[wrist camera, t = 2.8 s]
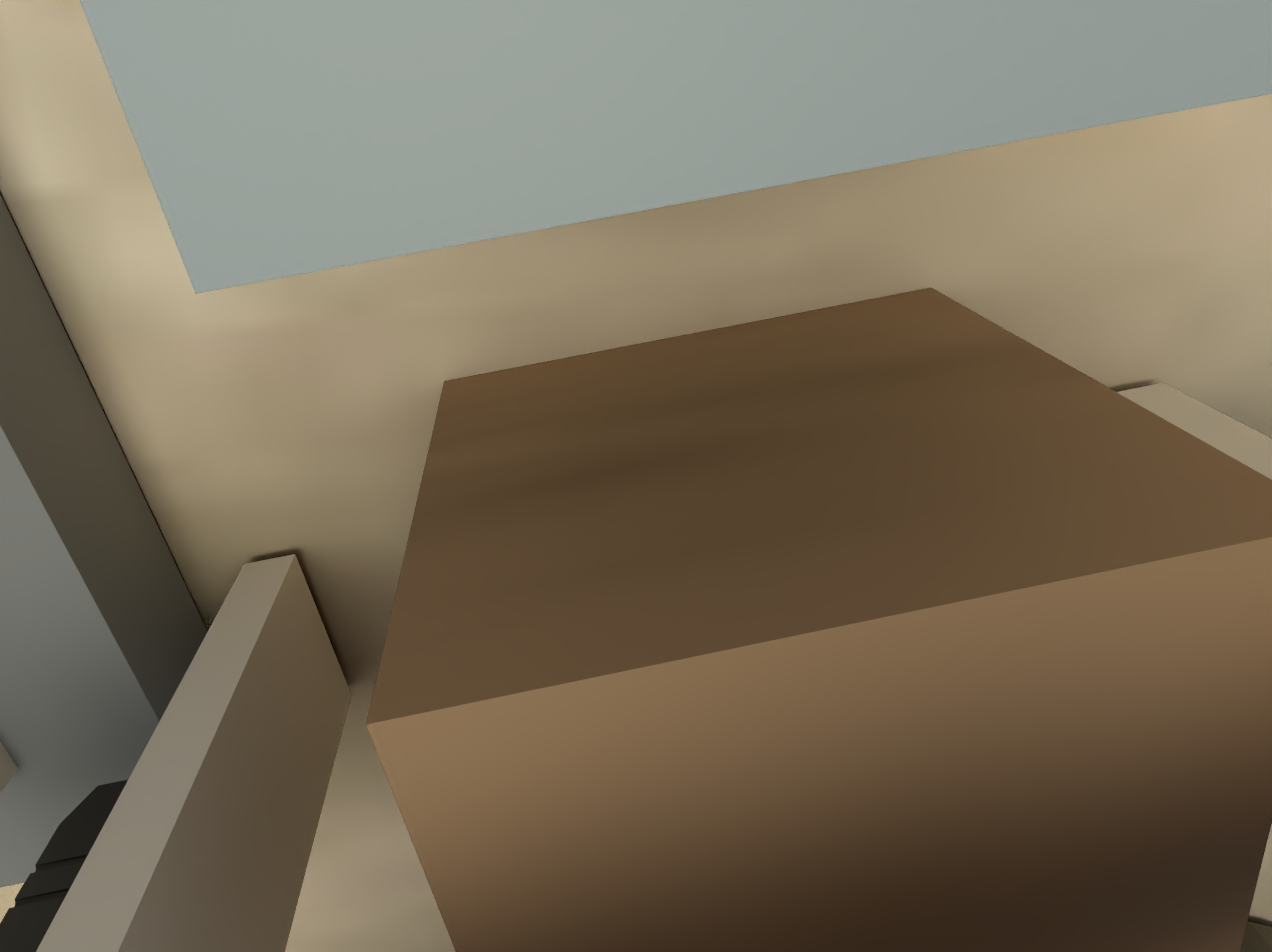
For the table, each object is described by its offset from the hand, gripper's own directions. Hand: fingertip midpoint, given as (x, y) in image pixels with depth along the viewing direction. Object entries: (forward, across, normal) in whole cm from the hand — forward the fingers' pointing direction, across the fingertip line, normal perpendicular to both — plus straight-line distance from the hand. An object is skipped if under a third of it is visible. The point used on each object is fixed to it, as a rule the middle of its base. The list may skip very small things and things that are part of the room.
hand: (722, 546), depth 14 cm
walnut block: (0, 0, 0) cm, 0 cm away
